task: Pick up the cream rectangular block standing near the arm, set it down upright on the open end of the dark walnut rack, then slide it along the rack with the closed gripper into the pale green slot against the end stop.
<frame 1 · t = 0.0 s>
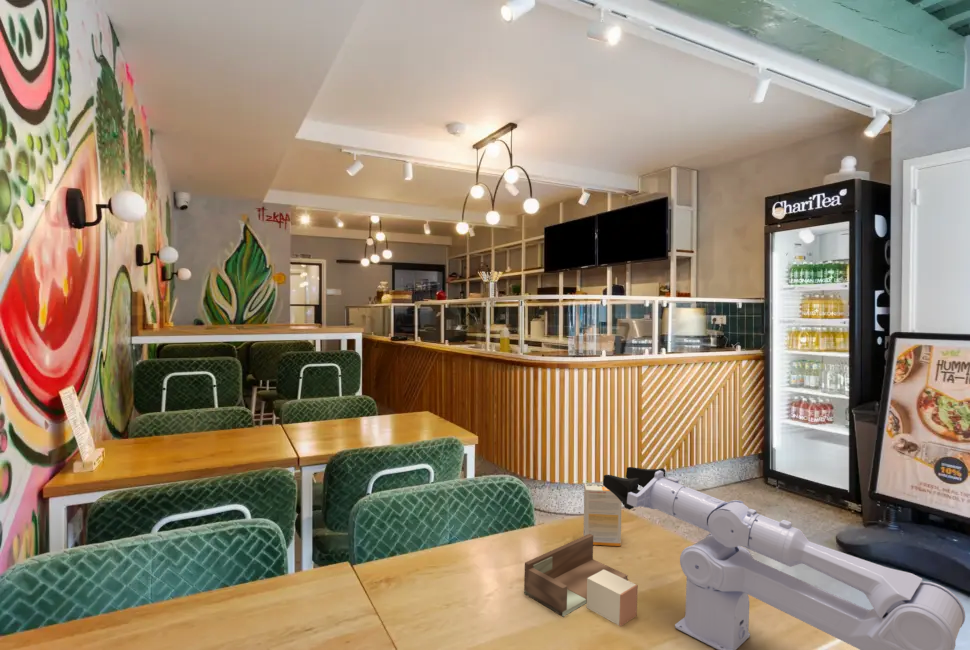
hand: (616, 475, 102), 22 cm above the table, tool horizontal, fingers open, 7 cm apart
supplement box: (601, 542, 122), on the table
shelf: (574, 587, 102), on the table
cream rectangular block: (610, 611, 94), on the table
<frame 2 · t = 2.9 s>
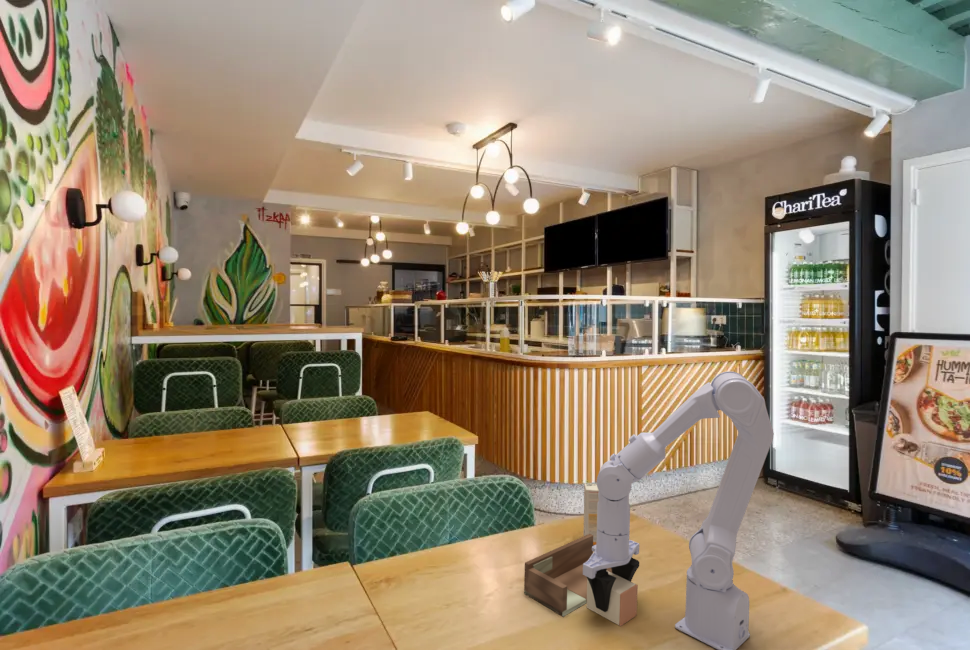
hand: (611, 603, 94), 1 cm above the table, tool pointing down, fingers closed on cream rectangular block, 5 cm apart
cream rectangular block: (610, 610, 94), on the table, touching gripper
everything else where it was.
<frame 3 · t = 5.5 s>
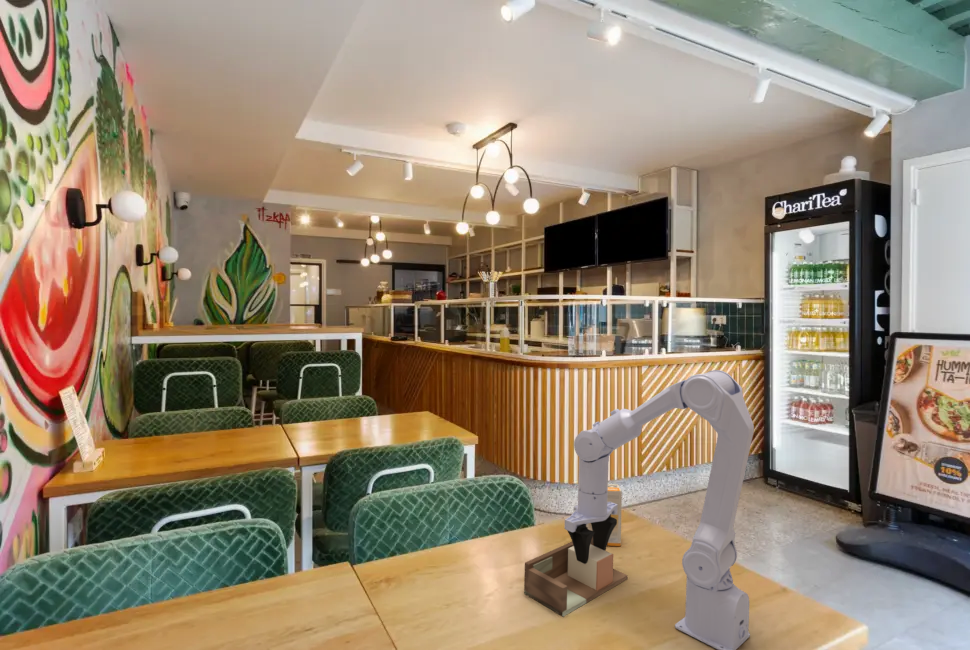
hand: (590, 557, 104), 5 cm above the table, tool pointing down, fingers closed on cream rectangular block, 5 cm apart
cream rectangular block: (589, 578, 104), point 1 cm above the table, touching gripper, shelf
everything else where it was.
when the fingers open (3 cm above the table, at t = 6.3 s): cream rectangular block stays where it is, resting on shelf.
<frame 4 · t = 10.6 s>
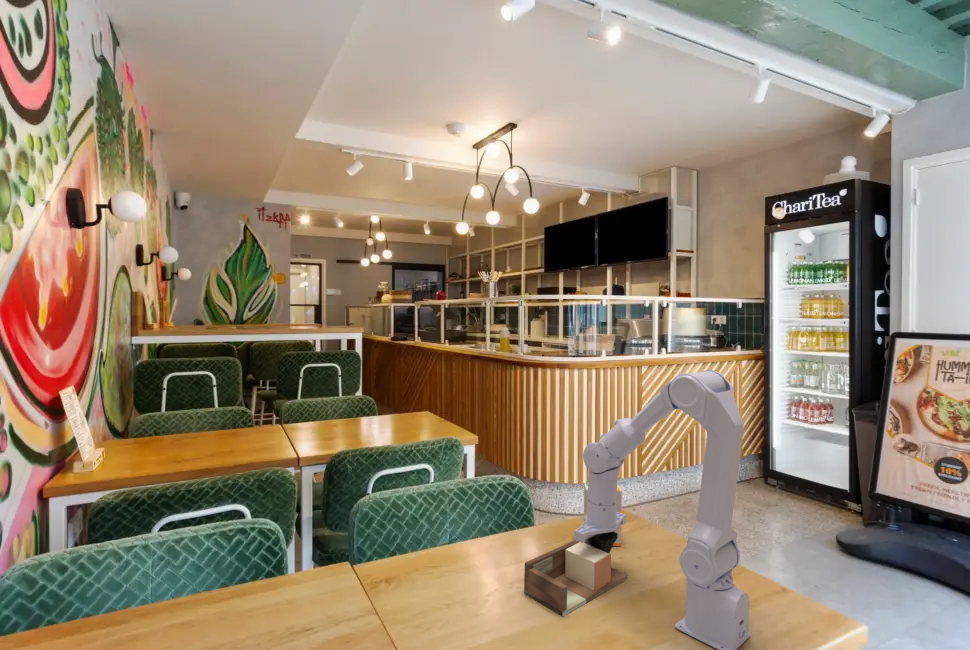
hand: (599, 566, 106), 2 cm above the table, tool pointing down, fingers closed
cream rectangular block: (587, 578, 104), point 1 cm above the table, touching gripper, shelf
everything else where it was.
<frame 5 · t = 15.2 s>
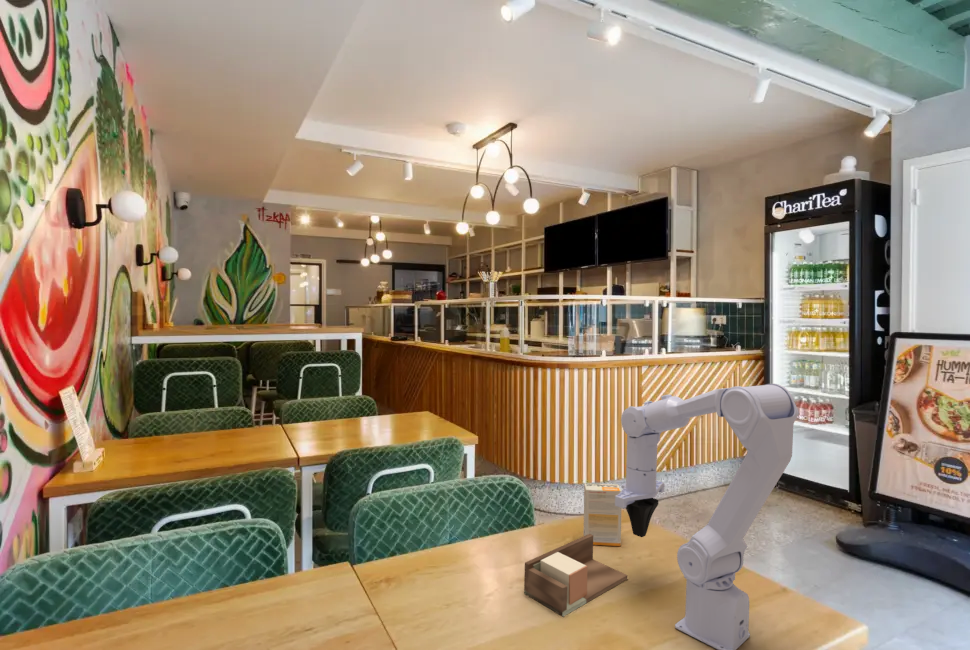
hand: (639, 534, 103), 10 cm above the table, tool pointing down, fingers closed
cream rectangular block: (563, 591, 99), point 1 cm above the table, touching shelf
everything else where it was.
at the end: cream rectangular block 1.3 cm from the target spot on the shelf, point 0.8 cm above the shelf's base; cream rectangular block tilted 2°; cream rectangular block moved 9.3 cm from its start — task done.
